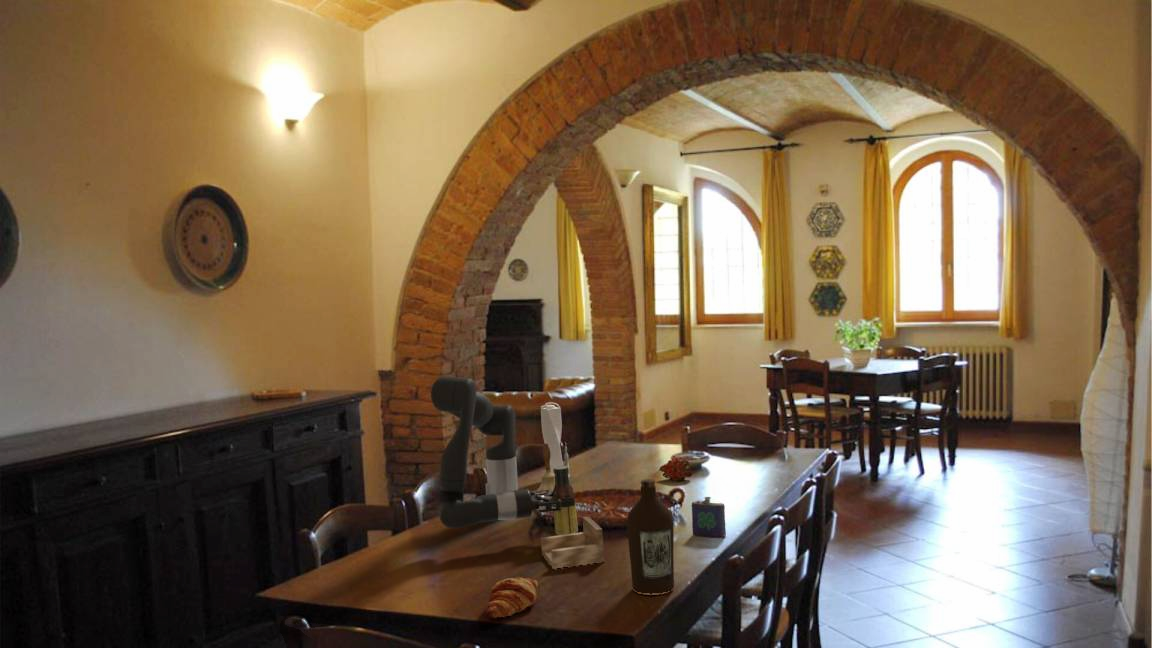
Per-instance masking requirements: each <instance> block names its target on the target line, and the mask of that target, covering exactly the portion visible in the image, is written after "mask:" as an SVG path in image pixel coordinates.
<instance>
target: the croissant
mask: <svg viewBox="0 0 1152 648" xmlns="http://www.w3.org/2000/svg"><path fill="white" fill-rule="evenodd" d="M538 585H539V583H538V581H537V580H536V579H534V580H533V579H532V578H529V577H527V578H526V577H525V578H523V577H520V576H515V577H511V578H509V577H508V578H505V579H502V580H500V581H497V582H496V583H495V584H494V585H493V586H492V588H491V590H490V592H489V596H488V597H489V598H488V604H487V606H486V609H485V611H486V614H487V615H488V616H489V617H490V618H492V617H493V618H492V619H498V618H497V617H499V618H501V617H502V616H508V615H511V614H513V613H515V612H518V611H520V610H523V609H525V608H526V607H528V606H530V605H531V604H532V605H533V604H534V603H535V602H536V600H537V598H538V596H537V594H538V593H537V592H538V587H539V586H538ZM532 605H531V606H532ZM531 606H530V607H531ZM525 610H526V609H525Z"/></svg>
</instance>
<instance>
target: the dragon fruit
mask: <svg viewBox="0 0 1152 648" xmlns="http://www.w3.org/2000/svg"><path fill="white" fill-rule="evenodd" d="M658 471H659V472H662V477H664V478H665V479H668V480H671V481H673V482H676V481H677V482H678V480H679V481H681V482H684V481H686V478H691V477H692V476H693V473H692V472H693V471H694V467H693V466H692V464H691V463H690V461H689V460H686V459H685V458H683V457H682V456H679V458H677V457H671V458H670V459H669V460H668V461H667V463H664V464H662V465H661V466H660V467H659V469H658Z"/></svg>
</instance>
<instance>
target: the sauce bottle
mask: <svg viewBox="0 0 1152 648" xmlns="http://www.w3.org/2000/svg"><path fill="white" fill-rule="evenodd" d="M568 471H569V472H570V469H569V470H568V467H567V466H565V465H563V466H557V467H554V474H555V486H554V489H553V497H554V499H564V498H572V497H573V498H574V499H575V491H574V488H573V486H572V485H571V483H570V478H569V479H568ZM575 500H576V499H575ZM554 505H555V506H556V504H554ZM577 517H578V514H577V507H576V503H575V506H570V507H562V508H561V510H560V511H553V518H554V520H553V521H554V530H555V534H556V535H555V536H557V535H565V534H573V533H579V532H578V531H579V527H578V518H577Z"/></svg>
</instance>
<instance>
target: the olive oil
mask: <svg viewBox="0 0 1152 648" xmlns="http://www.w3.org/2000/svg"><path fill="white" fill-rule="evenodd" d="M655 483H656V480H654V479H651V478H645V479H641V480H640V485H641V486H640V495H641V496H640V498H639V499H638V501H636V503H635V504H634V506H632V508H631V509H630V510H629V512H628V514H627V519H626V532H627V540H628V551H629V553H628V554H629V562H630V571H631V583H632V584H631V585H632V586H631V587H632V590H633V589H634V590H635V591H637V592H641V593H650V594H652V593H663V592H668V591H671V590H672V589H673V588H674V589H675V577H674V575H675V572H674V571H675V570H674V569H675V567H674V564H675V563H674V559H675V557H674V556H675V555H674V541H675V540H674V537H675V536H674V531H675V530H674V525H675V524H674V523H675V522H674V519H673V516H672V512H671V510H670V509H669V508H668V507H667V506H666V504H664V503H663V502H662V501H661V500H660V499H659V498H658V497H657V489H656V488H657V487H656V485H655ZM674 589H673V590H674ZM671 592H672V591H671Z"/></svg>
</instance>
